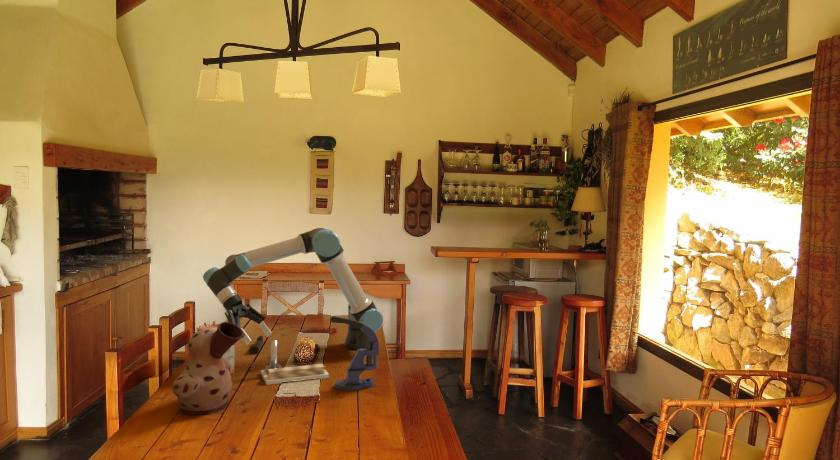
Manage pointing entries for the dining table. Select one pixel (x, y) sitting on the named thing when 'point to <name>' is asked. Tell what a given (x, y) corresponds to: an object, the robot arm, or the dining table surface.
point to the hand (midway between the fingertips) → (259, 338)
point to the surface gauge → (273, 357)
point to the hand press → (359, 359)
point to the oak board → (296, 371)
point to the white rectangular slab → (278, 381)
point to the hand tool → (257, 345)
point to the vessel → (207, 371)
